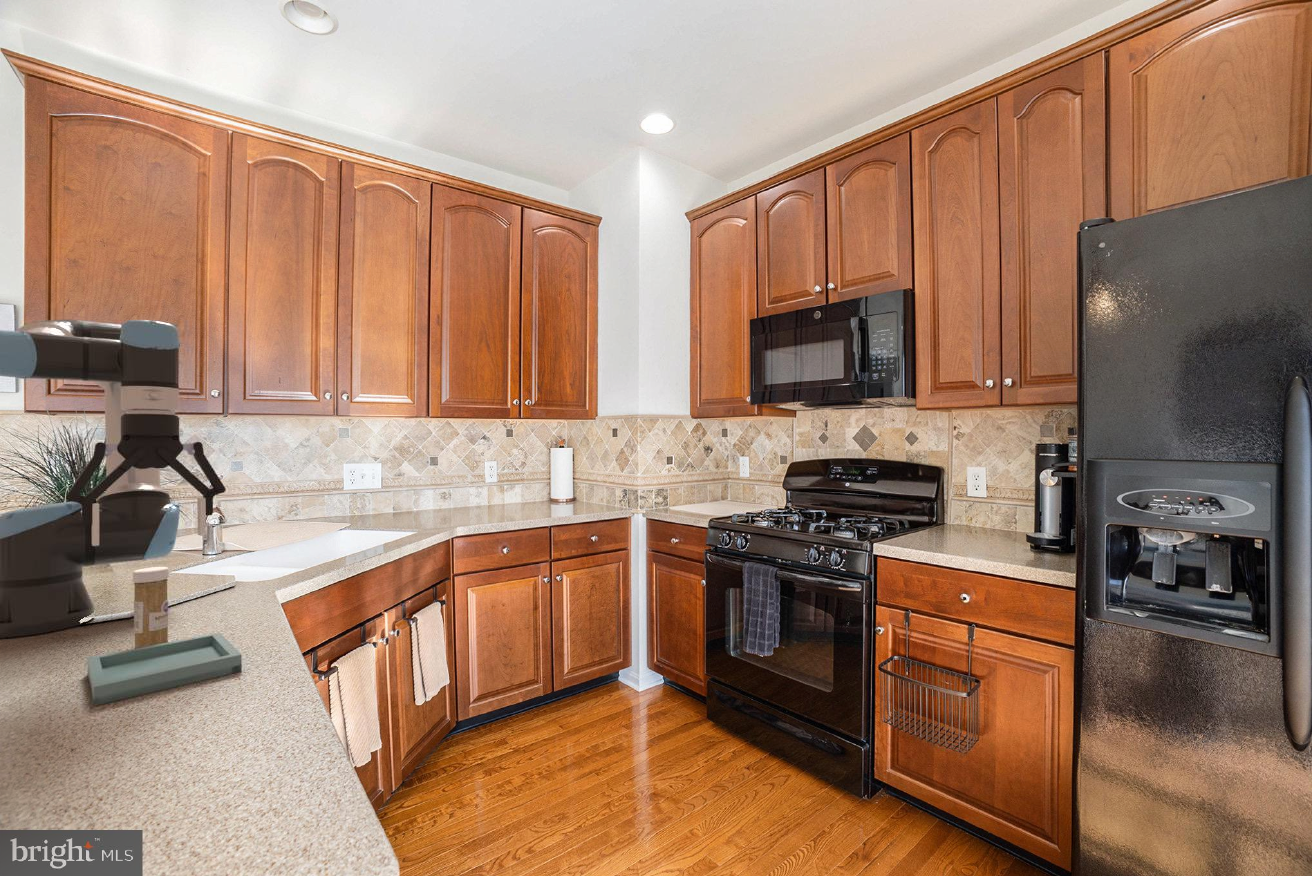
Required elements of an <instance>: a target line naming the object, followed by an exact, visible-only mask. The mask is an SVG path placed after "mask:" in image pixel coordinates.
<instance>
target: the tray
mask: <svg viewBox="0 0 1312 876" xmlns="http://www.w3.org/2000/svg"><path fill="white" fill-rule="evenodd" d="M242 656H243V655H242V653H241V652H240V651H239V650H238V649H237V648H236V647H235V646H234V645H233V644H232V643H231V642H229V640H228V639H227V638H226V637H225V636H224V634H223V635H222V633H221V632H214V633H209V634H203V635H199V636H194V637H189V638H183V639H177V640H173V641H168V643H162V644H157V645H152V646H147V647H142V648H137V649H134V648H132V649H127V650H122V651H118V652H110V653H107V654H102V655H97V656H96V655H95V656H92V657H87V678H88V683H89V688H90V694H91V700H92V703H93V704H92V705H93V707H98V706H102V705H106V704H111V703H113V702H119V701H123V700H126V699H130V698H135V697H139V696H142V695H149V694H152V693H156V692H160V691H165V690H169V689H172V688H174V689H175V688H177V687H182V686H185V685H189V684H194V683H199V682H202V681H207V680H210V679H211V680H212V679H216V678H219V677H223V676H227V675H232V674H237V673H240V672H242V670H243V669H242V667H243V666H242V663H243V662H242V659H243V657H242Z"/></svg>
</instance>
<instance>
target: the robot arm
mask: <svg viewBox="0 0 1312 876" xmlns="http://www.w3.org/2000/svg"><path fill="white" fill-rule="evenodd" d="M179 337H180V336H179V330H178V328H177V327H176V326H175V325H173V324H170V323H167V322H162V321H155V320H146V319H131V320H125V321H124V322H122V323H121V324H117V323H109V322H99V321H98V322H97V321H91V320H90V321H89V320H82V319H80V320H79V319H71V318H70V319H65V318H64V319H50V320H49V319H48V320H41V321H35V322H31V323H26V324H25V325H22V326H20V327H19V328H18V329H17V330H4V329H3V330H1V329H0V377H6V378H7V377H8V378H18V379H23V380H24V379H25V380H27V379H36V380H38V379H40V380H63V381H64V380H65V381H66V380H67V381H68V380H69V381H83V382H94V383H95V384H96V385H97V386H99V387H100V388H102V389H104V425H105V428H104V429H105V430H104V432H105V442H103V441H100V442H96V443H95V444H94V448H93V453H92V454H93V455H92V457H91V458H90V460H89V462H88V463H87V464H86V465H85V467H84V468H83V470H82V472H81V473H80V475H79V476H78V478H77V479H76V480H75V482H74V483H73V485H72V486H71V487H70V489H69V490H68V492H67V494H66V495H65V499H66V500H67V501H65V502H58V503H57V502H56V503H48V504H41V505H36V506H30V507H24V508H18V509H14V510H10V511H6V512H4V513H2V514H1V515H0V639H6V637H8V638H18V637H26V636H33V635H40V634H45V633H51V631H52V632H55V631H60V630H65V629H71V628H73V627H77V626H80V625H81V624H80V622H79V621H80V620H81V619H83V618H84V617H87V616H89V615H91V614H92V613H94V611H95V609H96V607H95V604H94V603H93V600H92V598H91V596H90V594H89V592H88V589H87V588H86V585H85V584H84V581H83V567H90V566H91V567H92V566H100V565H108V564H110V565H111V564H118V563H119V564H120V563H126V562H128V563H129V562H137V561H142V562H144V561H147V560H151V559H160V558H164V557H167V556H169V555H170V554H171V553H172V552H173V550H174V547H175V544H176V540H177V534H178V529H179V521H180V513H181V512H180V503H179V502H175V501H171V497H170V493H169V492H168V491H166V490H164V489H163V488H161V477H160V475H161V474H160V469H165V468H167V467H170V468H171V469H173V470H174V471H175V472H176V473H177V474H178V475H180V476H181V477H182V478H183V479H184V480H185V481H186V482H187V483H188V484H189V485H191V486H192V487H193V488H194V489H195V490H197V492H198V493H200V494H201V495H202V497H197V508H196V509H197V535H198V536H201V537H202V536H206V534H207V526H206V524H207V522H206V521H207V520H206V519H207V518H206V516H207V517H208V516H213V513H214V497H215V496H217V495H221V494H223V493H225V492H226V490H227V489H226V487H225V486H224V484H223V482H222V480H221V479H220V477H219V475H217V473H216V471H215V469H214V468H213V467H212V465H211V464H210V462H209V460H208V459H207V457H206V455H205V452H204V446H203V443H202V442H200V441H194V442H192V443H182V442H181V440H180V417H179V415H176V413H179V411H180V385H179V382H180V380H179V378H180V377H179V375H180V374H179V373H180V371H179V370H180V369H179V368H180V366H179V365H180V361H179V360H180V347H181V343H180V341H179ZM183 451H186V452H187V454H188V455H190V456H193V458H194V459H195V461H196V463H197V464H198V466H199V468H200V469H201V471H202V473H203V474H204V476H205V477H206V478H207V480H208V482H209V483H210V485H211V487H212V488H209V487H208V486H207V485H205V483H204V482H203V481H201V480H200V479H199V478H198V477H197V476H195V474H194V473H192V472H191V470H189V469H188V468H186V466H184V464H183V463H182V462H181V461H180V460H179V459H177V458H178V456H179V455H180V454H181V453H182V452H183ZM104 457H105V465H106V466H105V467H106V468H105V469H106V470H105V471H106V477H104V478H103V479H102V480H101V481H100V482H99V483H98V484H96V486H94V487H93V488H92V489H91V490H90V491H89V492H88V493H86V494H85V495H83V494H81V493H82V492H83V490H84V489H85V487H86V486H87V485H88V482H89V481H90V480H91V478H92V477H93V476H94V474H95V472H96V470H97V469H98V468H99V467H100V464H101V463H102V462H103V461H104ZM95 501H96V503H93V502H95Z"/></svg>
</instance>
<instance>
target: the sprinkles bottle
mask: <svg viewBox="0 0 1312 876" xmlns="http://www.w3.org/2000/svg"><path fill="white" fill-rule="evenodd" d="M169 573H170V572H169V567H168V566H153V567H152V566H151V567H144V568H141V569H136V570H134V571H133V573H132V582H133V583H134V584H133V585H134V593H133V594H134V596H133V597H134V600H133V632H134V648H133V649H137V648H142V647H147V646H152V645H157V644H162V643H168V642H169V634H168V632H169V630H168V628H169V627H168V626H169V601H168V579H169V578H170V577H169V575H170V574H169Z"/></svg>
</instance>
